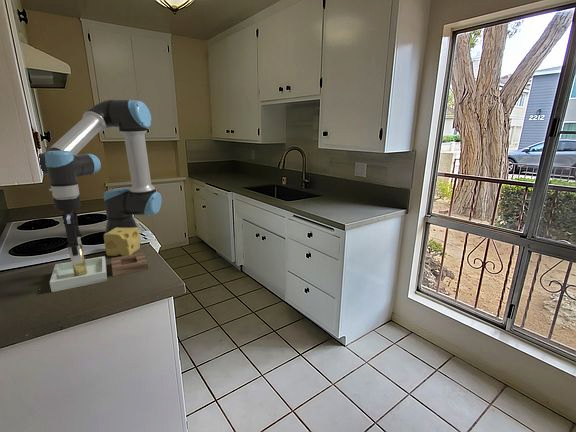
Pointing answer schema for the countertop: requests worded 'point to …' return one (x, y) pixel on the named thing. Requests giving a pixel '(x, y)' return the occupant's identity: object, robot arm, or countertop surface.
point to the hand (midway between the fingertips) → (78, 258)
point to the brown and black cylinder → (79, 264)
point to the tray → (67, 280)
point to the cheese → (122, 241)
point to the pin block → (129, 264)
